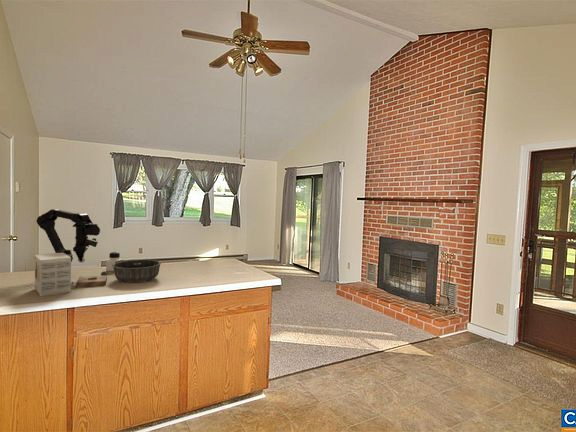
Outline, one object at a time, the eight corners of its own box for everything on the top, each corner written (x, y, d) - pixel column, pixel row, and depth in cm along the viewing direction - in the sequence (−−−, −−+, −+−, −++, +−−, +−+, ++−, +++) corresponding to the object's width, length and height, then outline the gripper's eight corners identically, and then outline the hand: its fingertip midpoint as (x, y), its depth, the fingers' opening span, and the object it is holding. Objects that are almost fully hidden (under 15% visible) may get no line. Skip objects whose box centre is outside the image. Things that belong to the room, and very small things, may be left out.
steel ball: (77, 263, 197) (77, 257, 197) (78, 262, 200) (78, 256, 200) (84, 263, 199) (84, 257, 199) (85, 261, 202) (85, 256, 202)
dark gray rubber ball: (100, 277, 203) (100, 272, 203) (101, 276, 206) (101, 270, 206) (107, 277, 204) (107, 271, 204) (107, 276, 208) (107, 270, 207)
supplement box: (33, 288, 176) (33, 254, 175) (64, 285, 185) (64, 252, 184) (39, 296, 163) (39, 259, 162) (71, 292, 173) (71, 257, 172)
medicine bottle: (115, 271, 219) (115, 253, 219) (105, 271, 221) (106, 252, 220) (122, 269, 226) (123, 252, 226) (113, 268, 228) (113, 251, 227)
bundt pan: (102, 284, 189) (102, 266, 189) (126, 273, 216) (127, 258, 215) (148, 286, 188) (148, 269, 188) (167, 276, 215) (167, 260, 214)
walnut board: (76, 287, 181) (76, 282, 181) (79, 281, 194) (79, 276, 194) (105, 285, 187) (105, 280, 187) (107, 279, 200) (107, 275, 200)
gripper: (95, 236, 194) (95, 263, 194) (98, 232, 211) (98, 257, 211) (72, 236, 189) (72, 264, 190) (77, 233, 206) (77, 258, 207)
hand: (81, 260), depth 199 cm, fingers closed on steel ball, 3 cm apart
